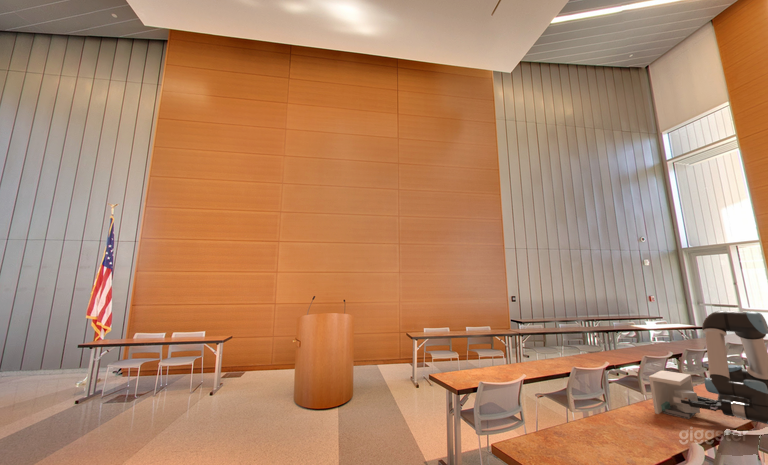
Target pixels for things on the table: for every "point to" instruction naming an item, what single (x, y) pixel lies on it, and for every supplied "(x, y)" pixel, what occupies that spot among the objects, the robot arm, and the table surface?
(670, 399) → the cabinet
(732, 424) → the table surface
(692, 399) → the small box
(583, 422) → the table surface
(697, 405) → the robot arm
